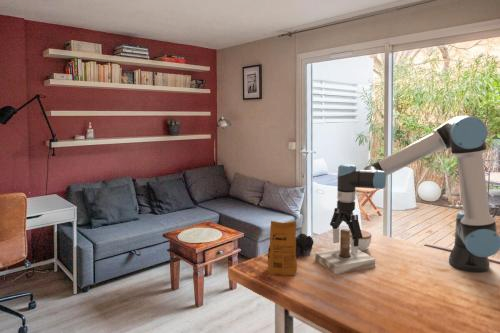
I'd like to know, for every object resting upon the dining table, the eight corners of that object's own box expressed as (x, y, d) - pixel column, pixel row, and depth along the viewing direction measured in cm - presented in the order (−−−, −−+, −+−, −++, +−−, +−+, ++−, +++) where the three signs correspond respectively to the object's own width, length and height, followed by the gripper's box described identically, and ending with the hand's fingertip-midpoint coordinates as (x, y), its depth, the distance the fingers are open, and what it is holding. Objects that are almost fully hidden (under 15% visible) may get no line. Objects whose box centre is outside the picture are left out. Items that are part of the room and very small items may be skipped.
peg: (351, 264, 163) (352, 231, 161) (343, 265, 162) (344, 232, 160) (345, 260, 167) (346, 228, 165) (337, 262, 166) (338, 229, 163)
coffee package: (268, 265, 163) (268, 217, 160) (297, 267, 161) (297, 218, 158) (266, 275, 153) (265, 224, 150) (296, 277, 151) (297, 225, 148)
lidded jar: (374, 252, 176) (374, 233, 175) (351, 252, 176) (351, 233, 175) (367, 244, 187) (367, 226, 185) (345, 244, 187) (346, 226, 186)
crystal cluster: (278, 255, 177) (278, 235, 174) (293, 244, 187) (294, 226, 185) (302, 263, 169) (303, 244, 166) (317, 252, 179) (318, 233, 177)
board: (375, 266, 161) (375, 258, 160) (335, 274, 154) (335, 266, 153) (352, 253, 175) (352, 246, 175) (315, 260, 168) (315, 252, 168)
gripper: (323, 195, 171) (322, 239, 174) (356, 208, 147) (355, 259, 151) (336, 193, 173) (336, 237, 176) (372, 206, 150) (370, 256, 153)
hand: (344, 247), depth 163 cm, fingers open, 13 cm apart
